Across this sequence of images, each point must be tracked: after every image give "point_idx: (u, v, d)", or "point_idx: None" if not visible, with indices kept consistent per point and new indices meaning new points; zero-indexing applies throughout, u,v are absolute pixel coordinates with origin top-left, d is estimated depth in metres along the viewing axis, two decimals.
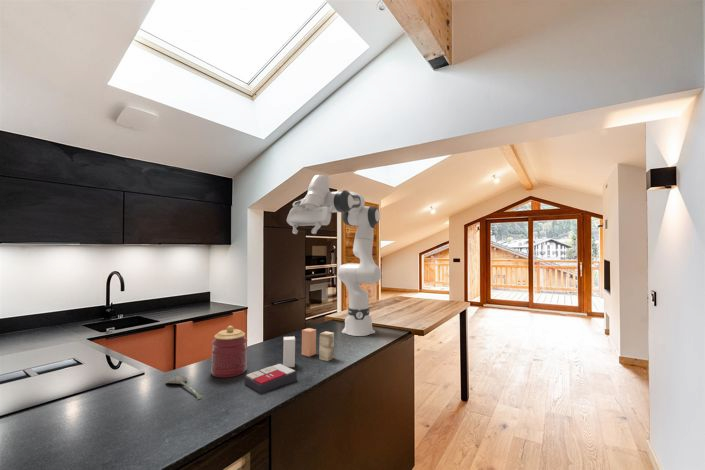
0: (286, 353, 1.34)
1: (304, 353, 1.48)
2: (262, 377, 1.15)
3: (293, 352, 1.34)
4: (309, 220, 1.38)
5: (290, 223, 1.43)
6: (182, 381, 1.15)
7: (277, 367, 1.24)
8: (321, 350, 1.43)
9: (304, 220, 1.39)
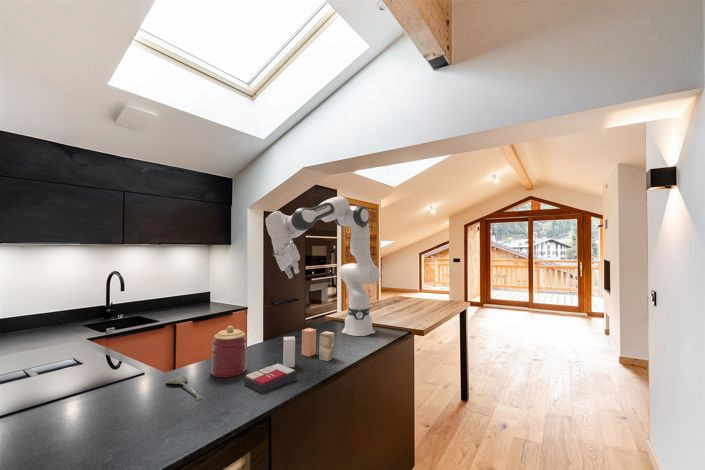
0: (286, 353, 1.34)
1: (304, 353, 1.48)
2: (262, 377, 1.15)
3: (293, 352, 1.34)
4: (287, 264, 1.44)
5: (284, 270, 1.52)
6: (182, 381, 1.15)
7: (276, 367, 1.24)
8: (321, 350, 1.43)
9: (286, 266, 1.46)
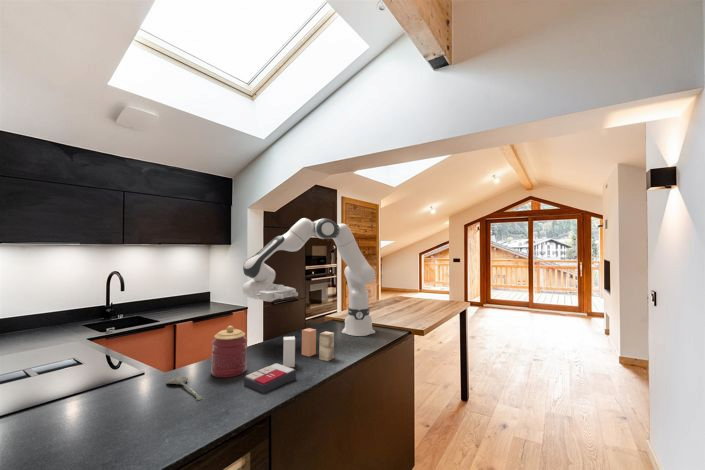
0: (286, 353, 1.34)
1: (304, 353, 1.48)
2: (263, 377, 1.15)
3: (293, 352, 1.34)
4: (279, 298, 1.57)
5: None
6: (182, 382, 1.15)
7: (275, 367, 1.24)
8: (321, 350, 1.43)
9: (283, 297, 1.59)
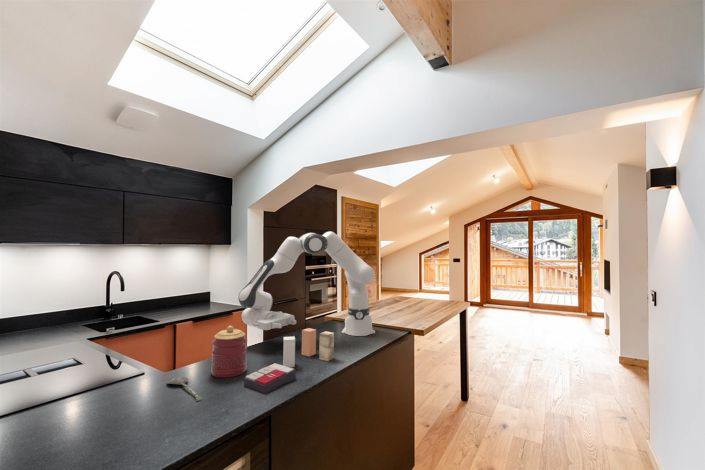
0: (286, 353, 1.34)
1: (304, 353, 1.48)
2: (264, 377, 1.15)
3: (293, 352, 1.34)
4: None
5: None
6: (183, 382, 1.14)
7: (274, 367, 1.24)
8: (321, 350, 1.43)
9: None
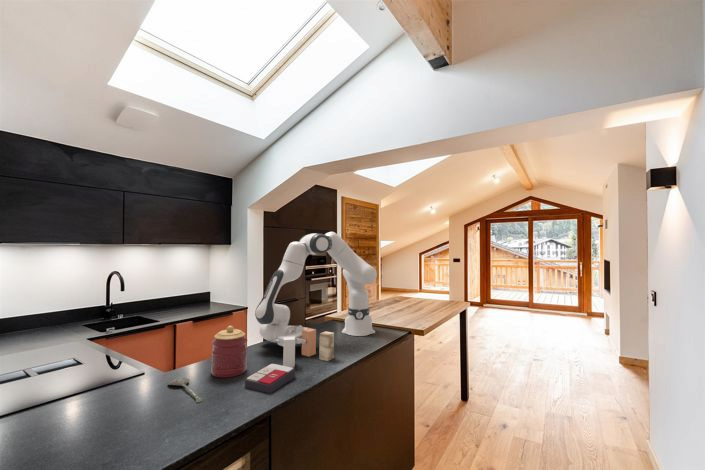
0: (286, 353, 1.34)
1: (304, 353, 1.48)
2: (266, 378, 1.14)
3: (293, 352, 1.34)
4: None
5: None
6: (183, 383, 1.14)
7: (273, 367, 1.24)
8: (321, 350, 1.43)
9: None
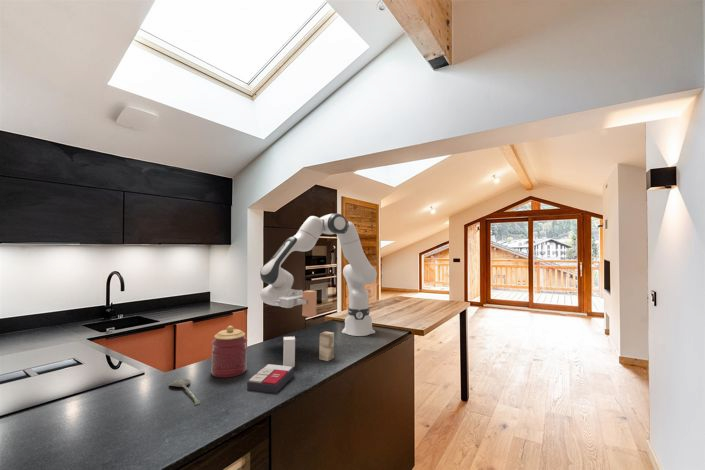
0: (286, 353, 1.34)
1: (305, 314, 1.48)
2: (269, 378, 1.14)
3: (293, 352, 1.34)
4: (299, 304, 1.51)
5: None
6: (184, 384, 1.13)
7: (271, 367, 1.23)
8: (321, 350, 1.43)
9: None
